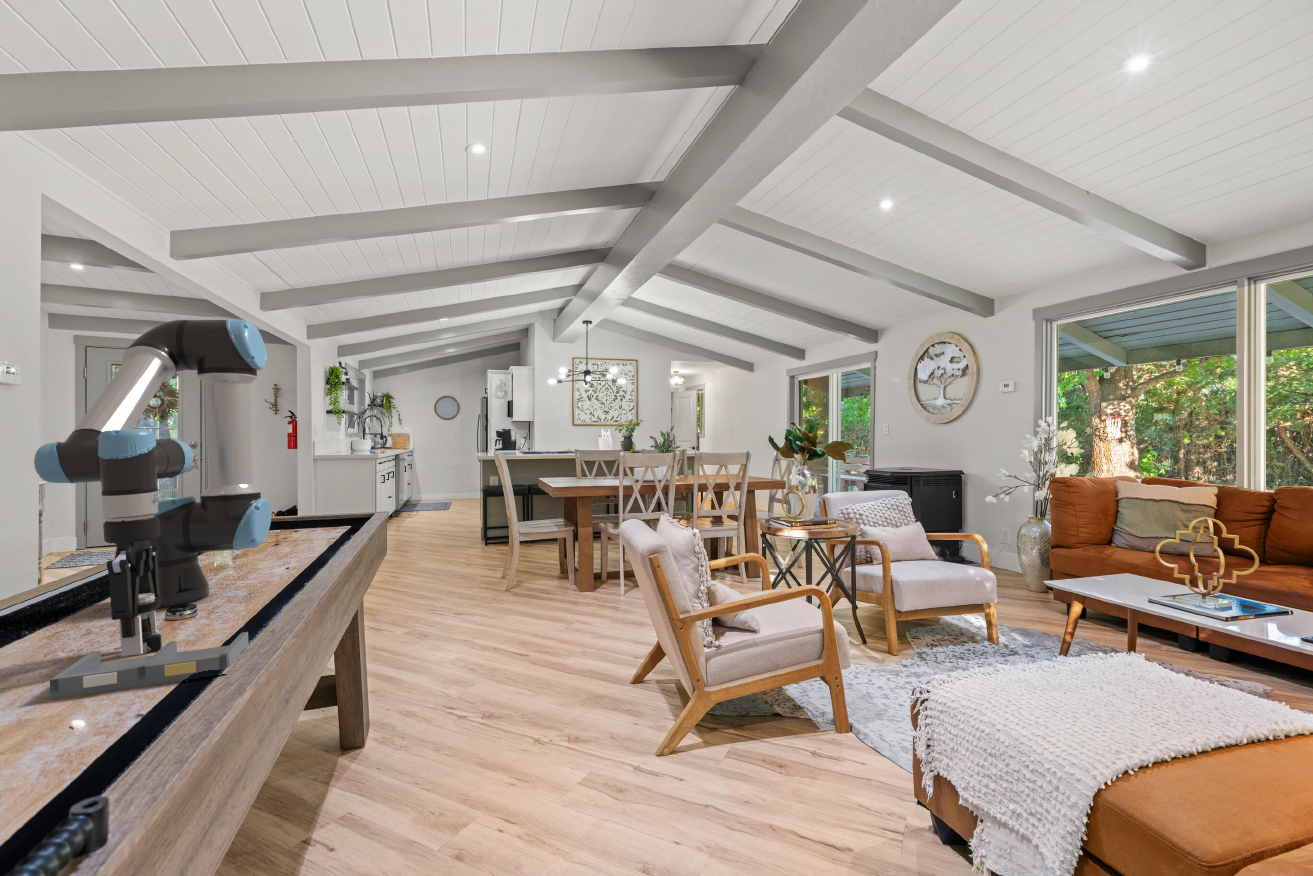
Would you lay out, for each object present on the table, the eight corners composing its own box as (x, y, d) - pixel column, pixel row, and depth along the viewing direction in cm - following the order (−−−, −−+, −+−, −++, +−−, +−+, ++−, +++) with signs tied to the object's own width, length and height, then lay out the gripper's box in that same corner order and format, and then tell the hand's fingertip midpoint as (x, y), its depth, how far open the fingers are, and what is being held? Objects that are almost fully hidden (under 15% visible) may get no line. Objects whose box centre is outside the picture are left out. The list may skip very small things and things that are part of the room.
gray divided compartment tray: (93, 669, 102) (92, 651, 102) (248, 648, 109) (247, 631, 109) (49, 700, 90) (48, 680, 90) (226, 675, 97) (225, 656, 97)
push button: (111, 662, 105) (107, 604, 104) (118, 652, 109) (114, 596, 109) (161, 653, 108) (158, 597, 108) (165, 643, 113) (162, 589, 112)
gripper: (134, 523, 101) (142, 664, 101) (177, 509, 118) (184, 629, 118) (76, 527, 98) (85, 671, 99) (129, 512, 115) (136, 635, 116)
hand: (139, 648), depth 109 cm, fingers closed on push button, 5 cm apart
